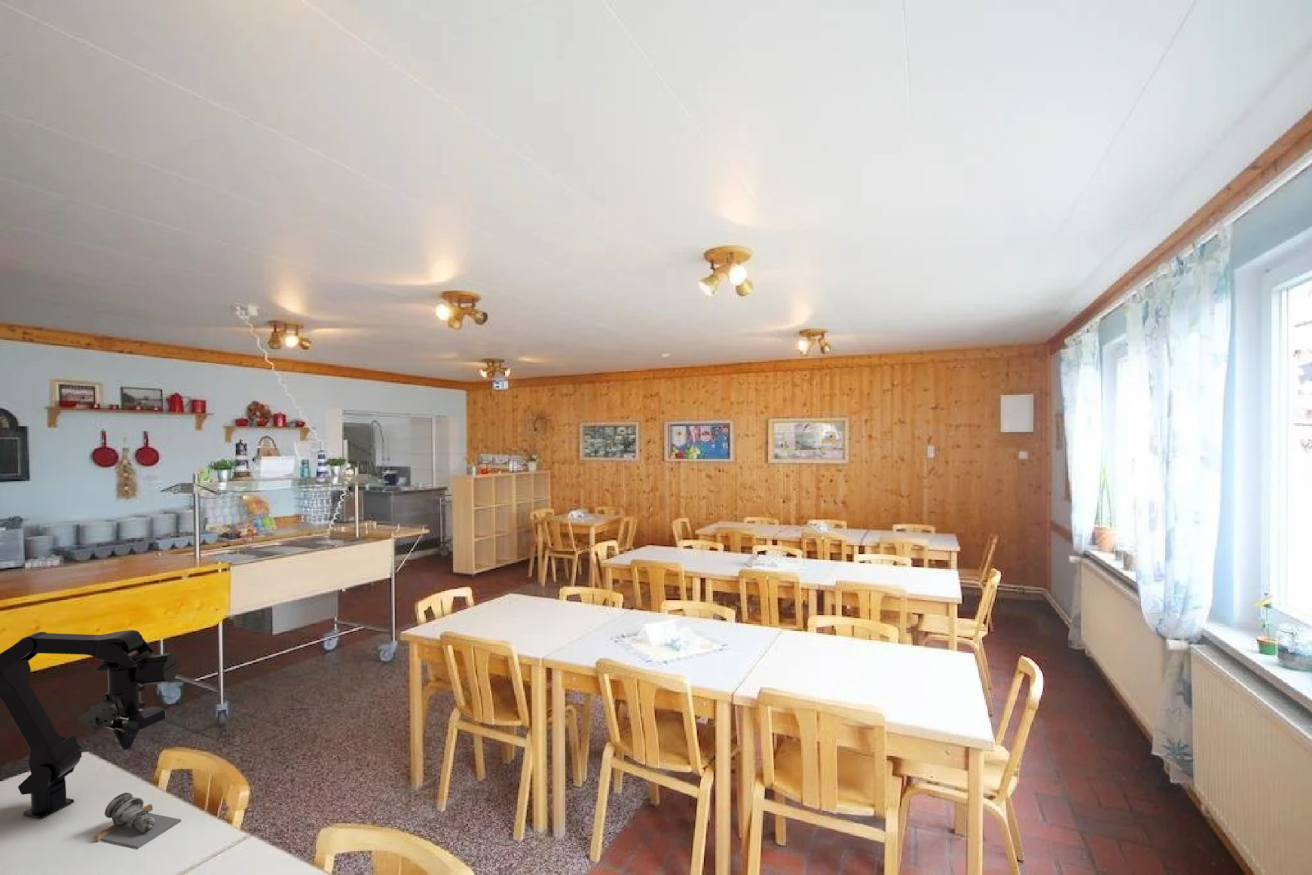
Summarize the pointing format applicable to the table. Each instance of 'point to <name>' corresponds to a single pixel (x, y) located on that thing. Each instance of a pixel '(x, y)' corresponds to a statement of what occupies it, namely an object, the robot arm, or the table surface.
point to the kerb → (113, 827)
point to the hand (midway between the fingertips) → (126, 748)
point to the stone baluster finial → (129, 812)
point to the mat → (138, 838)
